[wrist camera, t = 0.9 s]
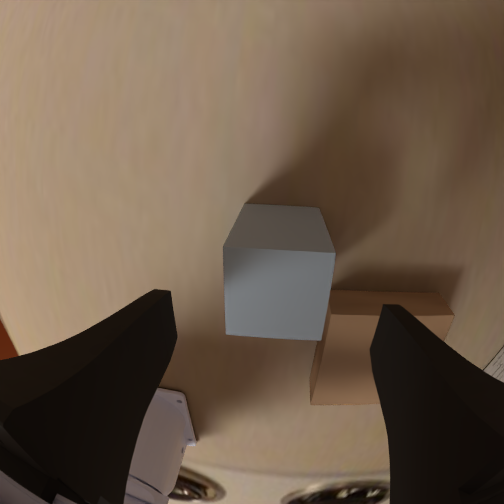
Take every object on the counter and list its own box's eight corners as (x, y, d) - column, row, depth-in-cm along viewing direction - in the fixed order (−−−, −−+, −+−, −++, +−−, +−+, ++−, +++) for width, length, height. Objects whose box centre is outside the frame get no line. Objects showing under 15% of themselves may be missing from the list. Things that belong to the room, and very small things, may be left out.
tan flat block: (403, 373, 21) (412, 400, 18) (309, 374, 21) (310, 404, 19) (436, 290, 17) (454, 315, 15) (325, 286, 18) (331, 314, 15)
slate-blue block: (311, 273, 17) (321, 340, 12) (244, 269, 18) (225, 334, 12) (318, 207, 16) (336, 253, 10) (244, 203, 16) (222, 246, 11)
